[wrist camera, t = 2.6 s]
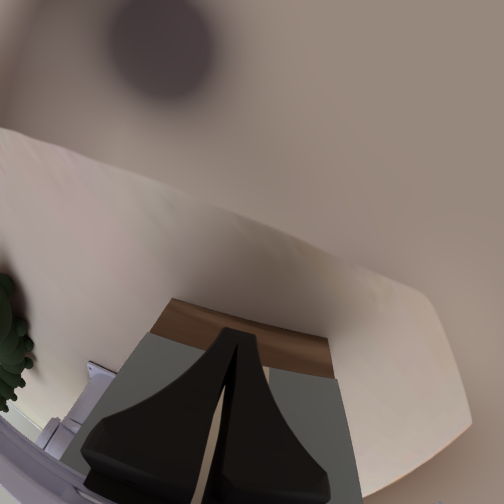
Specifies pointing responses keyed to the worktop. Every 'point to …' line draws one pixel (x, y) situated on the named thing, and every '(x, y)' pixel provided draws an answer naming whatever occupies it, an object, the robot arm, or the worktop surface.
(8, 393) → the toy figurine
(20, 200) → the worktop surface
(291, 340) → the box
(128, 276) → the worktop surface
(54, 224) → the worktop surface
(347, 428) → the lid
